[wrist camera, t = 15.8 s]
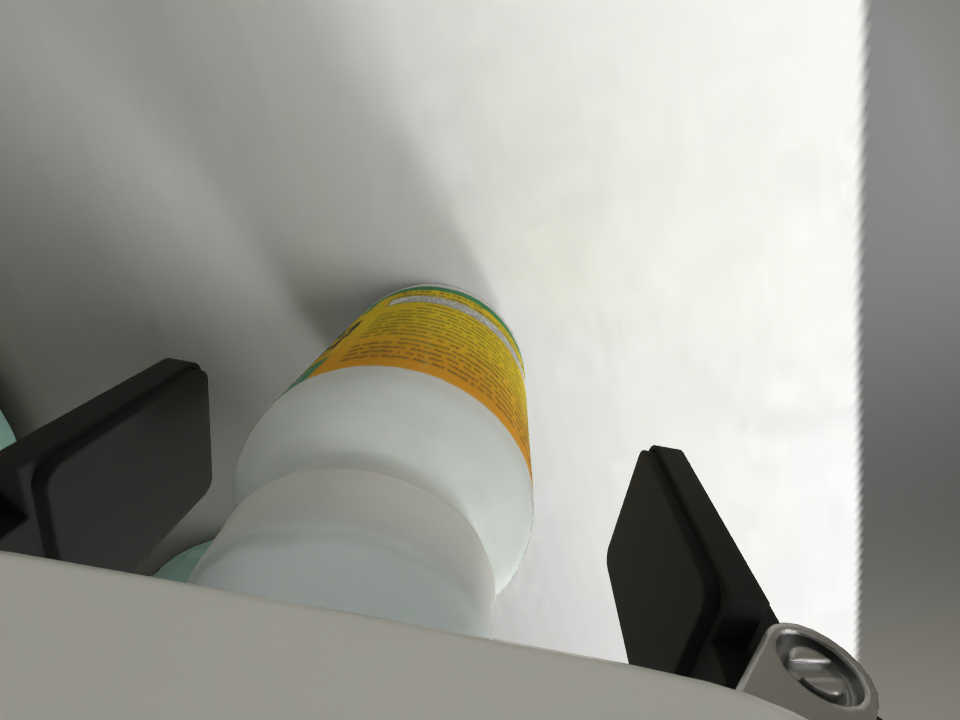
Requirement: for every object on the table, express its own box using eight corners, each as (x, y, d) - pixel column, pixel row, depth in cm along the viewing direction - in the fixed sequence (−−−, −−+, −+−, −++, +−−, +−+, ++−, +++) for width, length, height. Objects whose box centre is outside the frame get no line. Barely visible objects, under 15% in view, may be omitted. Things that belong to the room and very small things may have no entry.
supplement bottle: (495, 461, 16) (475, 823, 7) (334, 416, 16) (116, 737, 7) (549, 308, 14) (611, 555, 5) (367, 254, 14) (119, 421, 5)
